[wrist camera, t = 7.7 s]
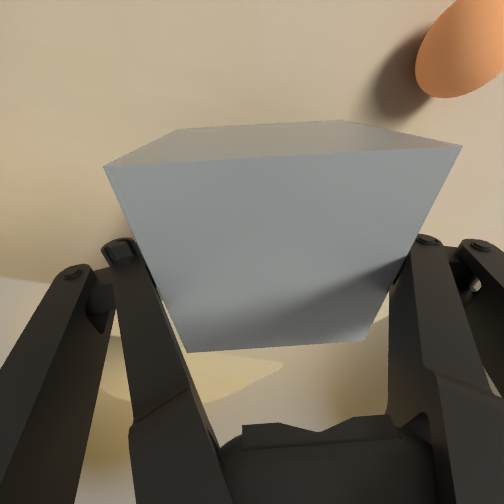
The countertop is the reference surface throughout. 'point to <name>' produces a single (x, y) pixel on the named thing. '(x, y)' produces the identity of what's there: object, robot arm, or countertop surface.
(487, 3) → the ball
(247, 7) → the countertop surface
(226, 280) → the gray tapered block
